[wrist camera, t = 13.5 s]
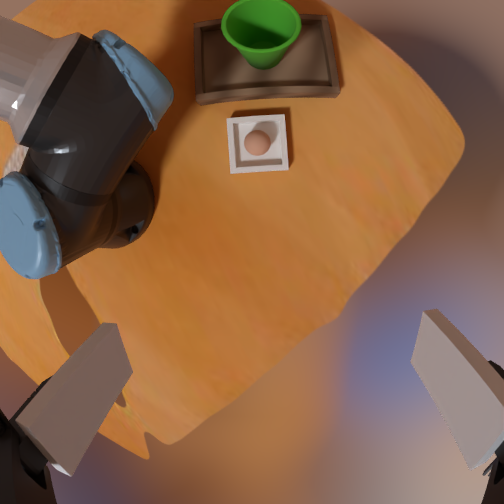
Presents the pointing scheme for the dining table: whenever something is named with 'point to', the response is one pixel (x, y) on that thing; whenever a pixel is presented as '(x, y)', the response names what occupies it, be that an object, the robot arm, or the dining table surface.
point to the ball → (257, 142)
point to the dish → (267, 162)
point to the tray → (271, 80)
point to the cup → (261, 30)
